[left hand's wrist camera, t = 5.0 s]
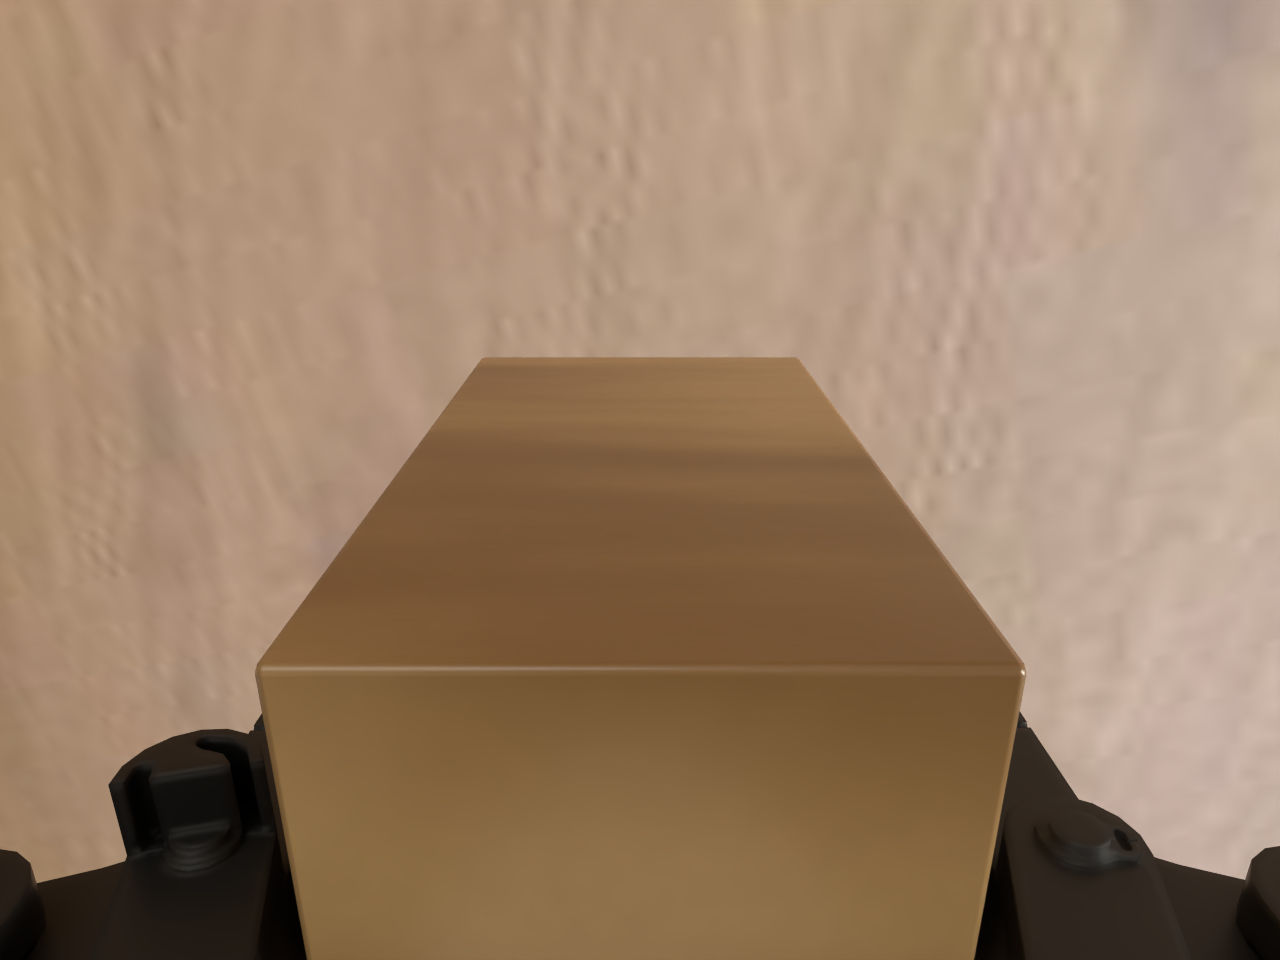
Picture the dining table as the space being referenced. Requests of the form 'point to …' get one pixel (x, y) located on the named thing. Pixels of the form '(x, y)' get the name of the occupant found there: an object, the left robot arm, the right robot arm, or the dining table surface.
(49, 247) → the dining table surface
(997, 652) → the bar
